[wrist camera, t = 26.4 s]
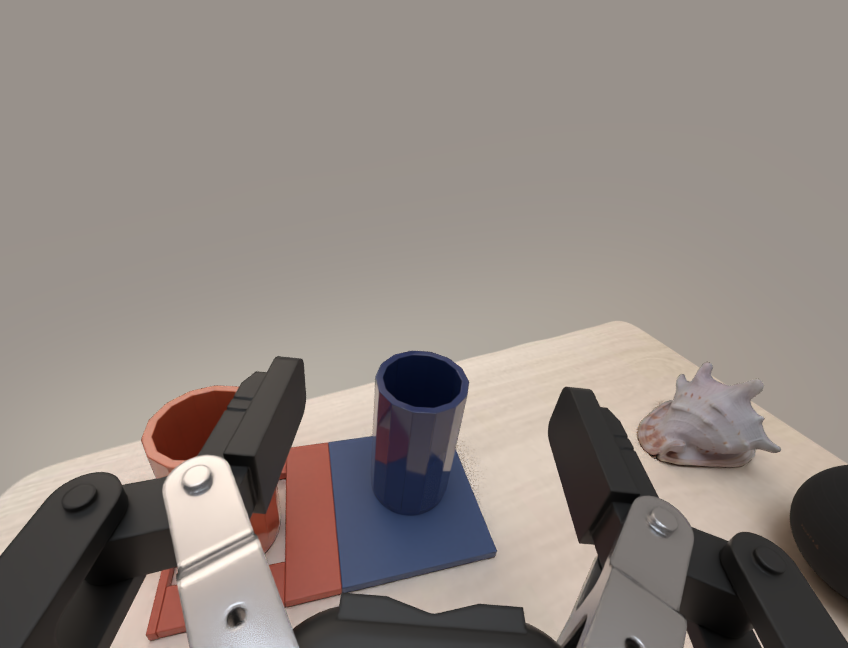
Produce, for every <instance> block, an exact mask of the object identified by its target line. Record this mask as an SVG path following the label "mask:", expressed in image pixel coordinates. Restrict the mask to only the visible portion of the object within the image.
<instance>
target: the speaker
mask: <svg viewBox="0 0 848 648" xmlns="http://www.w3.org/2000/svg"><path fill="white" fill-rule="evenodd" d="M790 524H791V530H792V533H793V537H794V539H795V542H796V544H797V546H798V548H799V550H800V552H801V554H802V555H803V557H804V558H805V560H806V561H807V562H808V564H809V565H810V566H811V568H812V569H813V570H814V571H815V572H816V573H817V574H818V575H819V576H820V577H821V578H822V579H823V580H824V581H825V582H826V583H827V584H828V585H829V586H830V587H832V588H833V589H834V590H835V591H837V592H838V593H839V594H841V595H842V596H844V597H845V598H847V599H848V465H842V466H837V467H833V468H829V469H826V470H824V471H821V472H819V473H817V474H815V475H814V476H812V477H811V478H809V479H808V480H807V481H805V482H804V483H803V484H802V485H801V487H800V488H799V489H798V491H797V492H796V494H795V496H794V498H793V501H792V504H791V509H790Z"/></svg>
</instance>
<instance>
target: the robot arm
mask: <svg viewBox="0 0 848 648" xmlns="http://www.w3.org/2000/svg"><path fill="white" fill-rule="evenodd" d="M305 404H306V388H305V374H304V363H303V360H302V359H299V358H290V357H280V356H277V357H275V359H274V360H273V362H272V364H271V366H270V368H269V370H268V371H267V372H255V373H254V374H252V375H251V376H250V377H248V378H247V379H246V380H244V381H243V382H242V383H241V385H240V386H239V388H238V390H237V391H236V393H235V395H234V398H233V399H232V400H231V401H230V403H229V404H228V406H227V410H225V411H224V413H223V414H222V416H221V418H220V419H219V421H218V423H217V424H216V426H215V428H214V429H213V431H212V433H211V434H210V436H209V437H208V439H207V441H206V442H205V444H204V446H203V447H202V449H201V451H200V452H199V454H198V455H197V456H196V457H193V458H191V459H188V460H186V461H184V462H183V463H181V464H180V465H178V466H177V467H176V468H174V469H173V470H172V471H171V472H170V474H169V475H168V476H165V477H162V478H158V479H152V480H147V481H141V482H136V483H131V484H125V485H122V484H121V482H120V480H119V479H118V478H117V477H116V476H115V475H113V474H110V473H105V472H95V473H89V474H86V475H82V476H80V477H77V478H75V479H73V480H70V481H69V482H67V483H65V484H63V485H62V486H61V487H59V488H58V489H56V490H55V491H54V492H53V493H52V494H51V495H50V496H49V497H48V498H47V499H46V500H45V502H44V503H43V504H42V505H41V507H40V508H39V509H38V510H37V511H36V513H35V514H34V515H33V516H32V518H31V519H30V520H29V521H28V522H27V524H26V525H25V526H24V527H23V529H22V530H21V531H20V532H19V533H18V535H17V536H16V537H15V538H14V540H13V541H12V542H11V543H10V544H9V546H8V547H7V548H6V549H5V551H4V552H3V553H2V554H1V556H0V648H110V646H111V644H112V642H113V640H114V638H115V636H116V634H117V632H118V630H119V628H120V626H121V624H122V622H123V620H124V618H125V616H126V614H127V612H128V610H129V608H130V606H131V604H132V602H133V600H134V598H135V596H136V595H137V593H138V591H139V589H140V587H141V585H142V583H143V581H144V579H145V577H146V575H147V574H150V573H154V572H158V571H162V570H166V569H170V568H174V567H178V574H177V575H176V579H177V586H178V592H179V597H180V602H181V607H182V612H183V617H184V622H185V627H186V632H187V637H188V642H189V647H190V648H683V647H684V641H685V636H686V631H687V632H688V635H689V637H690V640H691V642H692V645H693V648H762V647H761V645H760V643H759V642H758V640H757V638H756V636H755V634H754V632H753V630H752V629H755V631H756V633H757V635H758V637H759V639H760V641H761V643H762V645H763V647H764V648H848V643H847V641H846V640H845V638H844V636H843V635H842V633H841V632H840V630H839V629H838V627H837V626H836V624H835V623H834V621H833V620H832V618H831V617H830V615H829V614H828V612H827V611H826V609H825V608H824V606H823V605H822V603H821V602H820V600H819V599H818V597H817V596H816V594H815V592H814V591H813V589H812V588H811V586H810V585H809V583H808V582H807V580H806V579H805V577H804V576H803V574H802V573H801V571H800V570H799V568H798V567H797V565H796V564H795V563H794V561H793V560H792V559H791V558H790V557H789V556H788V555H787V554H786V553H785V552H784V551H783V550H782V549H781V548H779V547H778V546H777V545H775V544H774V543H773V542H771V541H769V540H768V539H766V538H764V537H762V536H760V535H757V534H754V533H749V532H740V533H738V534H736V535H735V536H734V537H733V538H732V539H731V540H730V541H726V540H724V539H721V538H719V537H716V536H713V535H711V534H708V533H705V532H703V531H700V530H698V529H695V528H693V527H691V526H690V524H689V522H688V521H687V519H686V518H685V517H684V515H683V514H682V513H681V512H680V511H679V510H678V509H676V508H675V507H674V506H673V505H671V504H670V503H668V502H666V501H664V500H662V499H660V498H659V497H658V495H657V493H656V491H655V489H654V487H653V485H652V483H651V481H650V479H649V477H648V475H647V473H646V471H645V469H644V467H643V465H642V463H641V462H640V460H639V458H638V456H637V454H636V452H635V451H634V450H633V449H634V448H633V446H632V444H631V442H630V440H629V439H628V438H627V437H628V436H627V434H626V432H625V430H624V428H623V426H622V424H621V422H620V421H619V420H618V419H617V418H616V417H615V416H614V415H613V413H612V412H611V411H610V410H609V409H608V408H603V407H600V406H599V404H598V401H597V399H596V397H595V395H594V393H593V391H592V390H590V389H583V388H573V387H565V388H563V390H562V392H561V394H560V397H559V399H558V401H557V404H556V406H555V409H554V411H553V414H552V416H551V419H550V421H549V426H548V438H549V442H550V446H551V449H552V453H553V456H554V460H555V463H556V466H557V470H558V473H559V477H560V480H561V483H562V487H563V490H564V494H565V497H566V500H567V504H568V507H569V511H570V514H571V517H572V521H573V524H574V528H575V531H576V535H577V538H578V541H579V543H582V544H593V545H595V548H596V551H597V556H596V557H595V559H594V561H593V563H592V566H591V568H590V570H589V573H588V575H587V577H586V580H585V582H584V584H583V587H582V589H581V591H580V594H579V596H578V598H577V601H576V603H575V606H574V608H573V610H572V613H571V615H570V617H569V619H568V621H567V623H566V625H565V627H564V628H563V630H562V632H561V634H560V636H559V638H558V640H557V642H556V641H554V640H553V639H552V638H551V637H550V636H548V635H547V634H545V633H544V632H542V631H541V630H539V629H537V628H536V627H534V626H532V625H530V624H528V623H525V618H524V611H523V607H511V606H499V605H487V604H476V605H472V606H468V607H463V608H459V609H455V610H450V611H446V612H442V613H437V614H431V613H428V612H425V611H423V610H420V609H418V608H415V607H413V606H410V605H407V604H405V603H402V602H400V601H397V600H395V599H392V598H390V597H387V596H376V595H364V594H352V593H341V599H340V604H339V607H334V608H330V609H327V610H325V611H322V612H319V613H317V614H315V615H314V616H312V617H310V618H308V619H306V620H305V621H303V622H302V623H301V624H299V625H298V626H296V627H295V628H294V629H292V627H291V624H290V621H289V619H288V616H287V613H286V611H285V608H284V605H283V603H282V600H281V597H280V594H279V592H278V589H277V586H276V584H275V581H274V578H273V576H272V573H271V570H270V567H269V565H268V562H267V559H266V557H265V554H264V551H263V549H262V546H261V543H260V541H259V538H258V536H257V534H255V533H254V530H253V528H252V525H251V522H250V519H251V516H252V514H253V513H258V514H266V512H267V510H268V507H269V504H270V502H271V499H272V496H273V494H274V491H275V488H276V486H277V483H278V480H279V478H280V475H281V472H282V470H283V467H284V465H285V462H286V459H287V457H288V454H289V451H290V449H291V446H292V443H293V441H294V438H295V435H296V433H297V430H298V427H299V425H300V422H301V420H302V417H303V414H304V410H305Z"/></svg>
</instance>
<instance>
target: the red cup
mask: <svg viewBox="0 0 848 648" xmlns="http://www.w3.org/2000/svg"><path fill="white" fill-rule="evenodd" d="M238 388H239V387H237V386H210V387H206V388H201V389H197V390H193V391H189V392H187V393H185V394H183V395H181V396H179V397H177V398H176V399H173V400H171V401H170V402H168V403H166V404H165V405H164V406H163V407H162V408H161V409H160V410H159V411H158V412H157V413H156V414H155V415H154V416H152V417H151V418H150V419H149V421H148V423H147V426H146V428H145V431H144V433H143V436H142V439H141V442H142V444H143V447H144V450H145V453H146V455H147V458H148V460H149V463H150V465H151V467H152V470H153V472H154V475H155V477H156V479H158V478H162V477H165V476H168V475H169V474H170V472H171V471H172V470H173V469H174V468H176V467H177V466H178V465H180V464H181V463H183V462H184V461H186V460H188V459H191V458H193V457H196V456H197V455H198V454H199V452H200V451H201V449H202V447H203V446H204V444H205V442H206V441H207V439H208V437H209V436H210V434H211V433H212V431H213V429H214V428H215V426H216V424H217V423H218V421H219V419H220V418H221V416H222V414H223V413H224V411H225V410H227V406H228V404H229V403H230V401H231V400H232V399H233V398H234V395H235V393H236V391H237V390H238ZM250 522H251V525H252V528H253V530H254V533H255V534H257V536H258V538H259V541H260V543H261V546H262V549H263V551H264V553H265V552H266V551H267V550H268V549H269V548H270V546H271V545H272V543H273V542H274V540H275V538H276V536H277V534H278V532H279V528H280V524H281V513H280V501H279V495H278V488H277V486H276V488H275V491H274V494H273V496H272V499H271V502H270V504H269V507H268V510H267V512H266V514H258V513H253V514H252V516H251V519H250Z"/></svg>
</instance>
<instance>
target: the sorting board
mask: <svg viewBox="0 0 848 648" xmlns="http://www.w3.org/2000/svg"><path fill="white" fill-rule="evenodd" d="M371 454H372V436H370V437H363V438H356V439H349V440H341V441H334V442H329V443H321V444H313V445H306V446H299V447H292V448H291V449H290V451H289V454H288V457H287V459H286V462H285V465H284V467H283V470H282V472H281V475H280V478H279V479H285V478H286V544H285V562H281V563H276V564H272V565H269V567H270V570H271V573H272V576H273V578H274V581H275V584H276V586H277V589H278V592H279V594H280V597H281V600H282V603H283V605H284V607H285V606H286V607H289V606H293V605H297V604H301V603H305V602H309V601H313V600H318V599H322V598H326V597H330V596H334V595H338V594H341V593H347V592H351V591H355V590H359V589H364V588H368V587H372V586H376V585H380V584H384V583H388V582H392V581H397V580H401V579H405V578H409V577H413V576H417V575H421V574H425V573H430V572H434V571H438V570H442V569H446V568H450V567H454V566H458V565H462V564H467V563H471V562H475V561H479V560H483V559H487V558H491V557H495V555H496V552H497V550H496V548H495V545H494V543H493V540H492V538H491V535H490V533H489V530H488V528H487V525H486V523H485V521H484V518H483V516H482V513H481V511H480V508H479V506H478V503H477V501H476V498H475V496H474V493H473V491H472V489H471V486H470V484H469V481H468V479H467V476H466V474H465V471H464V469H463V466H462V464H461V461H460V459H459V457H458V454H457V452H456V449H455V453H454V457H453V462H452V466H451V471H450V475H449V480H448V484H447V489H446V492H445V494H444V496H443V498H442V500H441V501H440V503H439V504H438V505H437V506H436V507H434V508H433V509H432V510H430V511H428V512H426V513H423V514H420V515H413V516H408V515H401V514H397V513H395V512H392V511H390V510H388V509H387V508H386V507H384V506H383V505H382V504H381V503H380V502H379V501H378V500H377V498H376V497H375V495H374V493H373V490H372V486H371V475H370V474H371ZM173 572H174V568H170V569H166V570H162V571H161V575H160V579H159V583H158V587H157V592H156V596H155V600H154V604H153V608H152V612H151V616H150V620H149V624H148V628H147V632H146V636H147V638H148V639H149V640H154V639H158V638H159V637H160V638H161V637H165V636H169V635H173V634H177V633H182V632H186V627H185V622H184V617H183V612H182V607H181V602H180V597H179V592H178V586H177V585H173V586H170V585H171V581H172V576H173Z"/></svg>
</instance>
